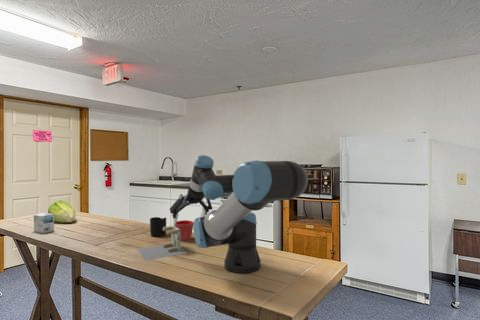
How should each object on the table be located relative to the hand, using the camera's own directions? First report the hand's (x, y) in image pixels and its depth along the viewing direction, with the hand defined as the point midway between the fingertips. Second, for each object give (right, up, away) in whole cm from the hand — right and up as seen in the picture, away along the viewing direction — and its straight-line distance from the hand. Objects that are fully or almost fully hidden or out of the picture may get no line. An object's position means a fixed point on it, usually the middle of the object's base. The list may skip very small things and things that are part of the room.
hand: (188, 220), depth 142 cm
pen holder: (-24, -16, +33) cm, 43 cm away
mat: (-13, -15, +2) cm, 20 cm away
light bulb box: (-98, -16, +44) cm, 109 cm away
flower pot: (-7, -16, +23) cm, 28 cm away
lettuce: (-103, -16, +72) cm, 127 cm away
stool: (-9, -15, +5) cm, 18 cm away
